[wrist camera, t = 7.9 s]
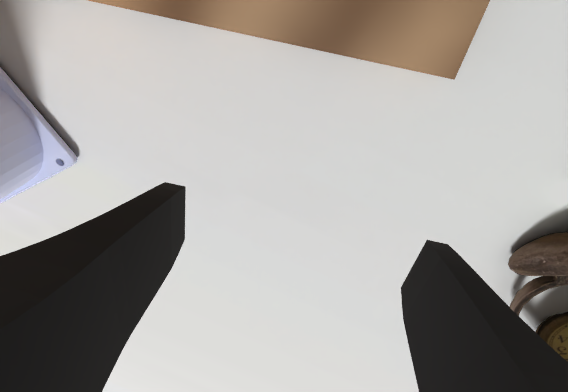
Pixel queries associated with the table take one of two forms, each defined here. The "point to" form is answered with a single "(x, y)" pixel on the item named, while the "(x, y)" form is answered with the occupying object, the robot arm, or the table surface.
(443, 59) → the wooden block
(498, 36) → the table surface
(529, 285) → the brown rounded piece
